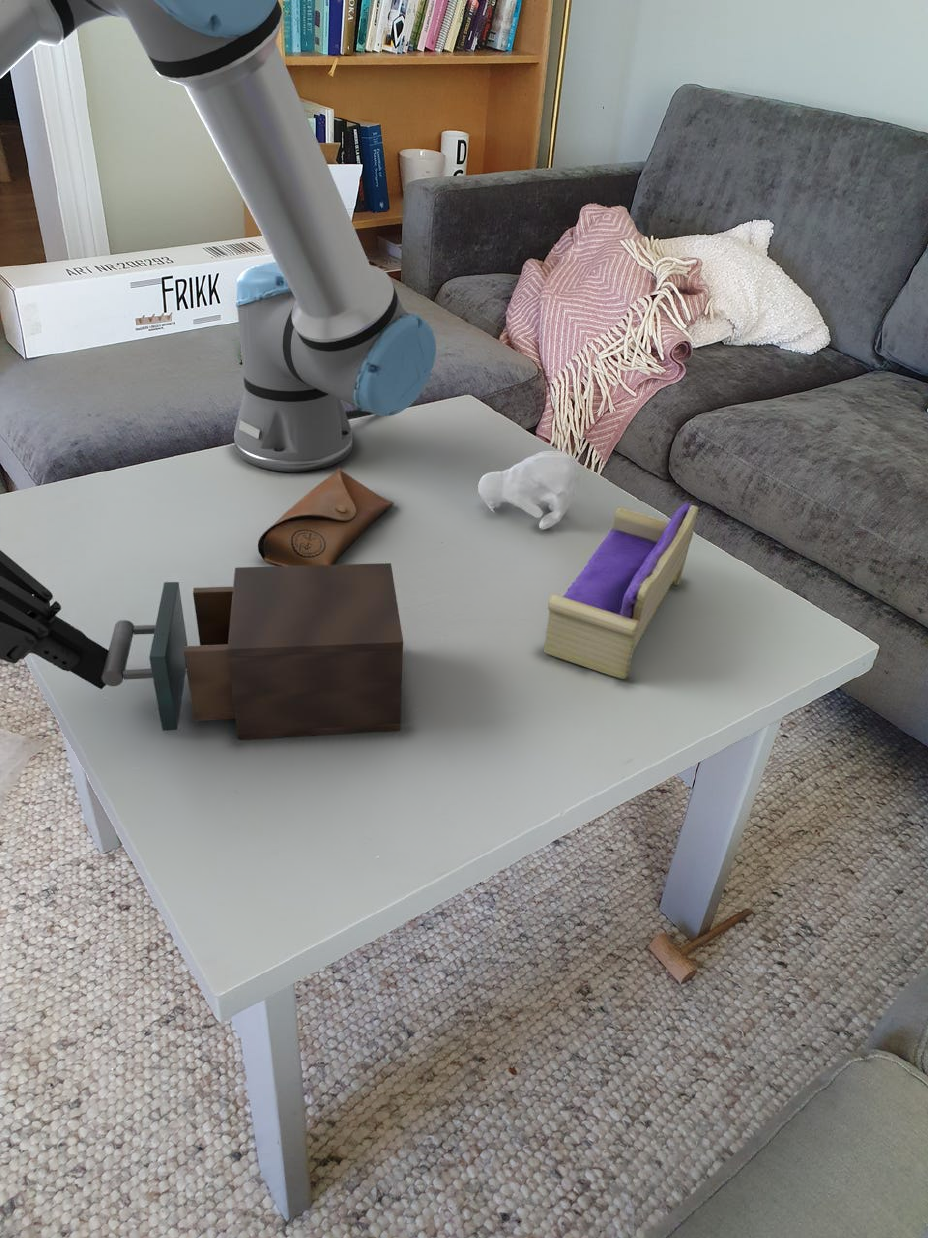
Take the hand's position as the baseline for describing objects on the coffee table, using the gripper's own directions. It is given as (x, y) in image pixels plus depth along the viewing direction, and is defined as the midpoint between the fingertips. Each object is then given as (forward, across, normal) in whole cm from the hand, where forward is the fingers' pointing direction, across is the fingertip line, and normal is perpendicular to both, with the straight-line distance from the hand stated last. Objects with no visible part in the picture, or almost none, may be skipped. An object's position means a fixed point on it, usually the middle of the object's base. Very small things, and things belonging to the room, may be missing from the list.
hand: (112, 674), depth 77 cm
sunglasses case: (+16, -28, +11) cm, 34 cm away
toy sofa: (+36, -10, +31) cm, 49 cm away
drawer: (+7, 0, +5) cm, 9 cm away
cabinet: (+14, 0, +10) cm, 17 cm away
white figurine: (+32, -31, +28) cm, 52 cm away
